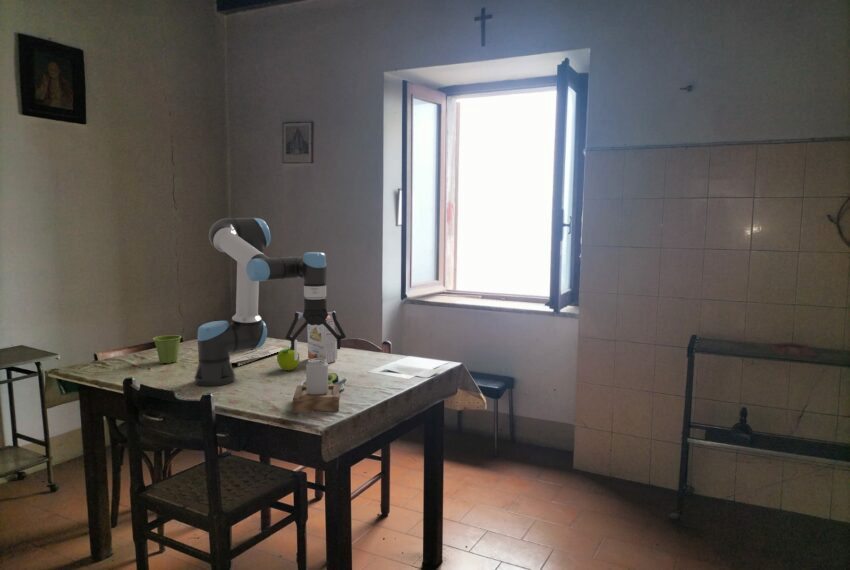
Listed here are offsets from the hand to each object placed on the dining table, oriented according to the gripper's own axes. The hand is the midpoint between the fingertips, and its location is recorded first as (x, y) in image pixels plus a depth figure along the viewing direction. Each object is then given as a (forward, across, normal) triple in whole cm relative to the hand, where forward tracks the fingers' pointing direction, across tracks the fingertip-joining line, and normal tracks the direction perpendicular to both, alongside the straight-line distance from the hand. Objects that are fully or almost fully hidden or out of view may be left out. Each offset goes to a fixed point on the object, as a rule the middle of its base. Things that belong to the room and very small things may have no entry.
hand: (316, 358), depth 206 cm
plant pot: (+17, -70, +70) cm, 100 cm away
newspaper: (+18, -33, +73) cm, 82 cm away
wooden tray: (+16, 0, 0) cm, 16 cm away
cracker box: (+17, -2, +65) cm, 67 cm away
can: (+12, 0, 0) cm, 13 cm away
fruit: (+17, -15, +50) cm, 55 cm away
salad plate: (+17, +1, +21) cm, 27 cm away
